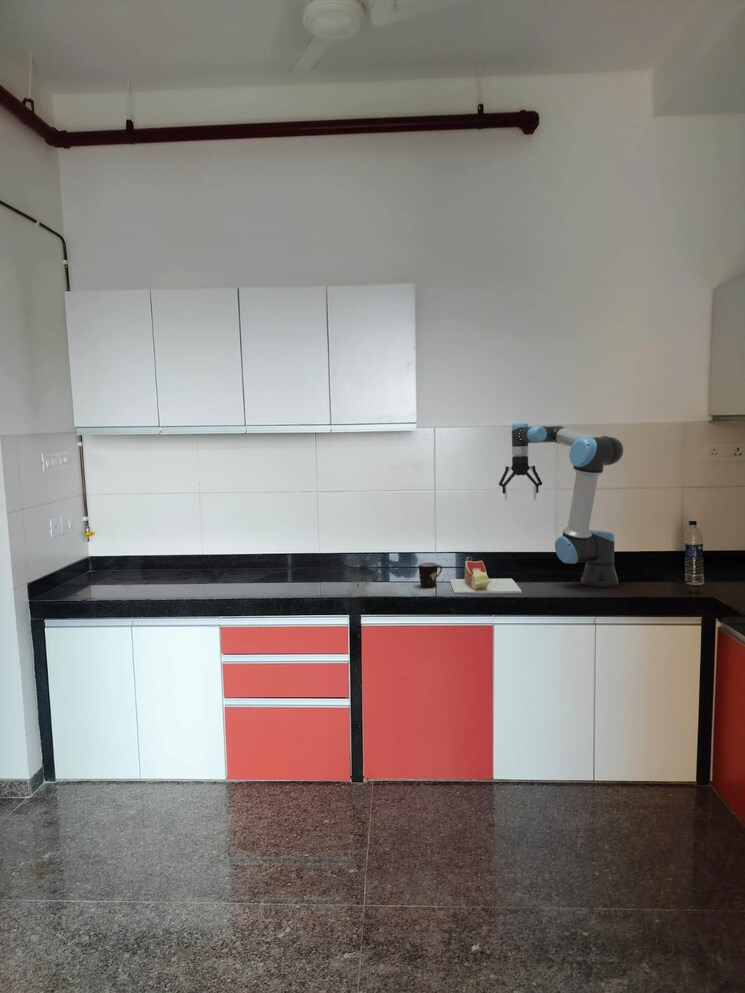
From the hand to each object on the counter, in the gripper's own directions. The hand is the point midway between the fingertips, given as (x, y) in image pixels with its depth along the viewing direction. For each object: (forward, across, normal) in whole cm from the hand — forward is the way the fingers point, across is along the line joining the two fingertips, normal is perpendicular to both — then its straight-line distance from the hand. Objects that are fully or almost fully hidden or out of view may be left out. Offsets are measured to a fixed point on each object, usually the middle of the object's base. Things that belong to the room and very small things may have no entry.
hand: (520, 500), depth 307 cm
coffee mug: (+35, +43, +32) cm, 64 cm away
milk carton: (+29, +24, +25) cm, 45 cm away
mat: (+35, +20, +33) cm, 52 cm away
